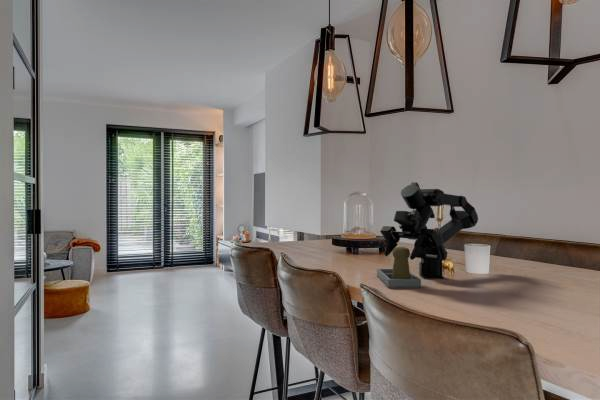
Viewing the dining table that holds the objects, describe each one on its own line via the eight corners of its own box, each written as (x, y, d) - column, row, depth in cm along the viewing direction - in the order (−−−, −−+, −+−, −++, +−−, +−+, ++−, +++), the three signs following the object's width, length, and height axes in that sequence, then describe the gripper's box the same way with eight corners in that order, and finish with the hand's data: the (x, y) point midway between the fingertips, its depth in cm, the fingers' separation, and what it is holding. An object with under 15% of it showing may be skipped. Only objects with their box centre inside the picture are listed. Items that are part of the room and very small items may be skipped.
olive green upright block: (405, 286, 124) (406, 248, 124) (387, 283, 127) (387, 247, 127) (414, 283, 128) (414, 247, 128) (396, 280, 132) (396, 245, 132)
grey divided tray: (405, 276, 142) (405, 268, 142) (421, 287, 123) (420, 279, 123) (376, 276, 142) (376, 268, 141) (388, 288, 123) (388, 279, 123)
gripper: (383, 201, 137) (361, 237, 130) (434, 201, 123) (413, 242, 116) (398, 224, 143) (377, 260, 135) (449, 227, 128) (429, 267, 121)
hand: (397, 257), depth 127 cm, fingers open, 9 cm apart
